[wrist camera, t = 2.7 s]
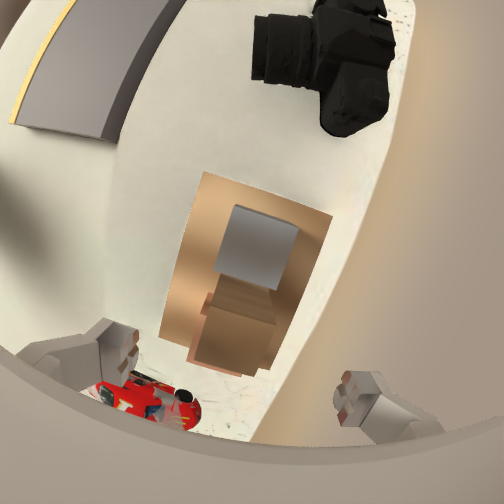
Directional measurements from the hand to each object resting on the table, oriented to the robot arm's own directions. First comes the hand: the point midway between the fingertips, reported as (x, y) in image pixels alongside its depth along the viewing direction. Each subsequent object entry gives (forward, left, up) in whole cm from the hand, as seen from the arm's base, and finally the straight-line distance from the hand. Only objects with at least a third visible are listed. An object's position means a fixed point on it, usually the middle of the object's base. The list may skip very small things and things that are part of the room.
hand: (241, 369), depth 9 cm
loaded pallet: (0, 0, -14) cm, 14 cm away
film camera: (+19, +1, -14) cm, 24 cm away
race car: (-15, +3, -15) cm, 22 cm away
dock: (+16, +21, -14) cm, 30 cm away
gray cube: (+3, 0, -11) cm, 12 cm away
